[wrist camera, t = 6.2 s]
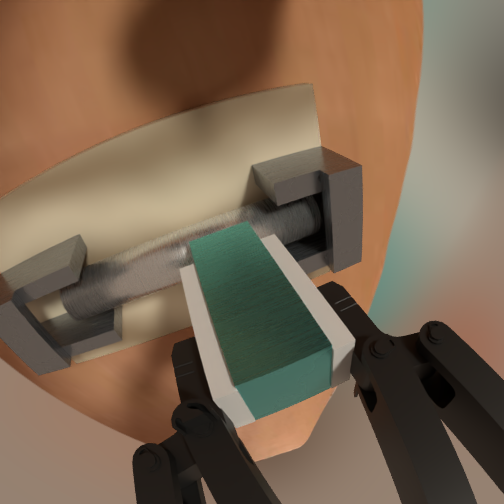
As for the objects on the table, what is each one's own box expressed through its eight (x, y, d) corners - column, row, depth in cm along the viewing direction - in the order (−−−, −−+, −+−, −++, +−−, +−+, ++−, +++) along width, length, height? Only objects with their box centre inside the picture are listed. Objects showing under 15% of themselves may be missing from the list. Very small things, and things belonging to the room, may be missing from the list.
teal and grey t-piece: (63, 265, 15) (30, 433, 6) (295, 178, 17) (429, 290, 9) (87, 300, 17) (79, 460, 8) (301, 220, 19) (413, 340, 10)
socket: (251, 164, 16) (280, 190, 13) (321, 145, 16) (361, 165, 13) (270, 252, 20) (295, 289, 16) (328, 230, 20) (361, 261, 17)
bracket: (1, 273, 13) (-20, 315, 10) (79, 233, 14) (65, 275, 11) (46, 332, 17) (38, 375, 14) (122, 304, 18) (122, 350, 15)
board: (-24, 214, 12) (-30, 221, 11) (304, 83, 15) (312, 83, 14) (77, 354, 20) (76, 363, 19) (324, 264, 23) (330, 271, 22)
